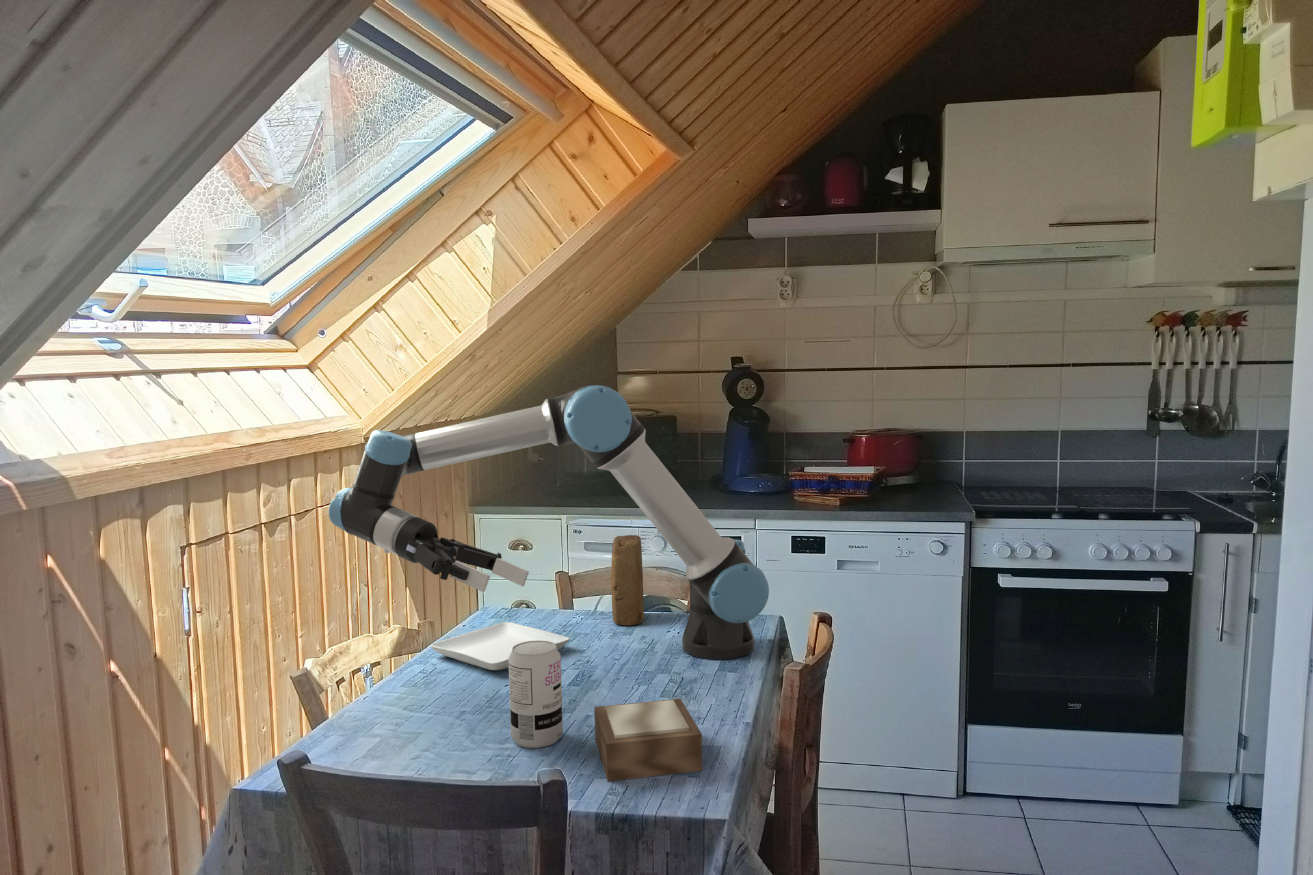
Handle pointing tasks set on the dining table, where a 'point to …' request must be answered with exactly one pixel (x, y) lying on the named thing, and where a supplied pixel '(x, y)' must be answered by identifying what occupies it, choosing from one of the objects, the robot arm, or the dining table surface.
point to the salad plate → (493, 644)
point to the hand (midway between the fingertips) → (507, 581)
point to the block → (627, 580)
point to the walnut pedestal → (647, 739)
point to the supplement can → (535, 694)
